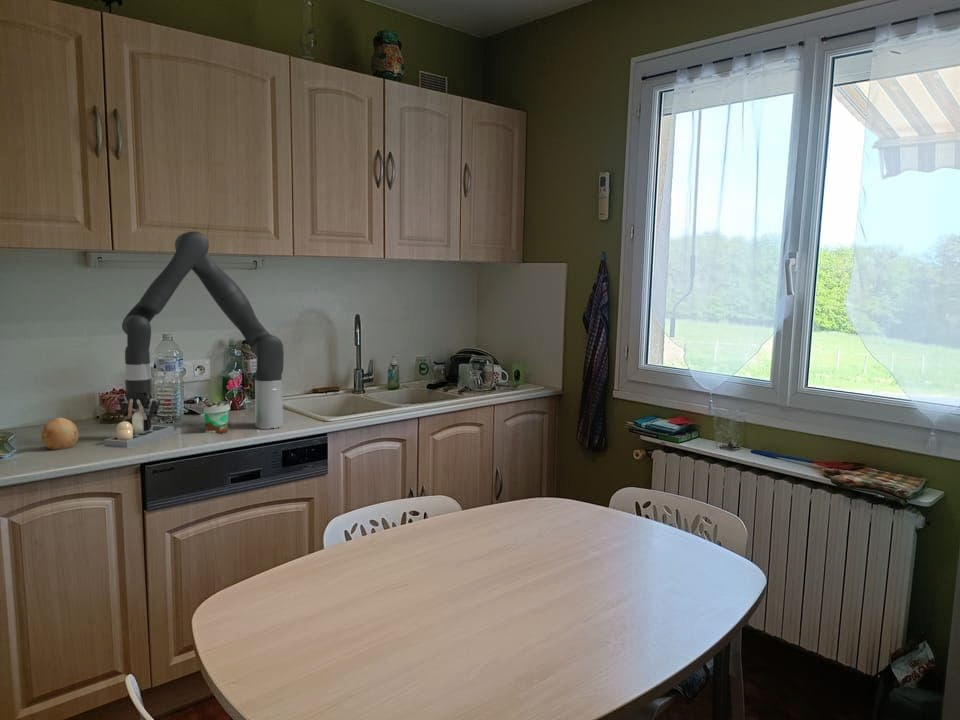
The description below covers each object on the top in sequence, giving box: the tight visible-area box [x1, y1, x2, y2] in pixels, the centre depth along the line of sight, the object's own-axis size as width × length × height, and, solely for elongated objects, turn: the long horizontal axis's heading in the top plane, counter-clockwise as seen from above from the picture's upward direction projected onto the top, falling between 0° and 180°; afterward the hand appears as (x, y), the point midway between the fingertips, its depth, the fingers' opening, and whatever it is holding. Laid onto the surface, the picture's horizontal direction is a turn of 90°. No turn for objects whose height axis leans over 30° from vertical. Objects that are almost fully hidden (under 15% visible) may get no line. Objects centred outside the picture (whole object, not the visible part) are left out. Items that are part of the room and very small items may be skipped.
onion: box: [40, 417, 79, 451], centre depth 202 cm, size 10×10×10 cm
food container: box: [203, 400, 231, 435], centre depth 229 cm, size 12×6×10 cm, turn 179°
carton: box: [97, 424, 182, 450], centre depth 215 cm, size 24×12×3 cm, turn 168°
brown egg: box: [116, 420, 133, 441], centre depth 208 cm, size 4×4×7 cm
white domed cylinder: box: [132, 410, 148, 434], centre depth 215 cm, size 4×4×7 cm
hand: (140, 429), depth 215 cm, fingers closed on white domed cylinder, 4 cm apart
